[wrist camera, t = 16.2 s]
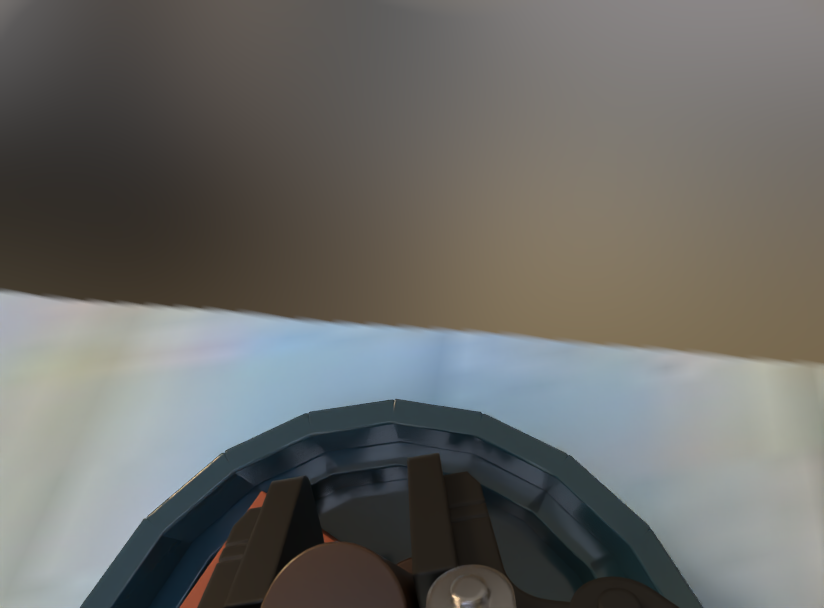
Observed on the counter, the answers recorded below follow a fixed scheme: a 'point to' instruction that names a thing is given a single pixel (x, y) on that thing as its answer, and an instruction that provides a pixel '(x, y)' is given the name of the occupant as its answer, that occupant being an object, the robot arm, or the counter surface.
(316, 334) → the counter surface
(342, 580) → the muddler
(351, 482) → the bowl
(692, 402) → the counter surface
